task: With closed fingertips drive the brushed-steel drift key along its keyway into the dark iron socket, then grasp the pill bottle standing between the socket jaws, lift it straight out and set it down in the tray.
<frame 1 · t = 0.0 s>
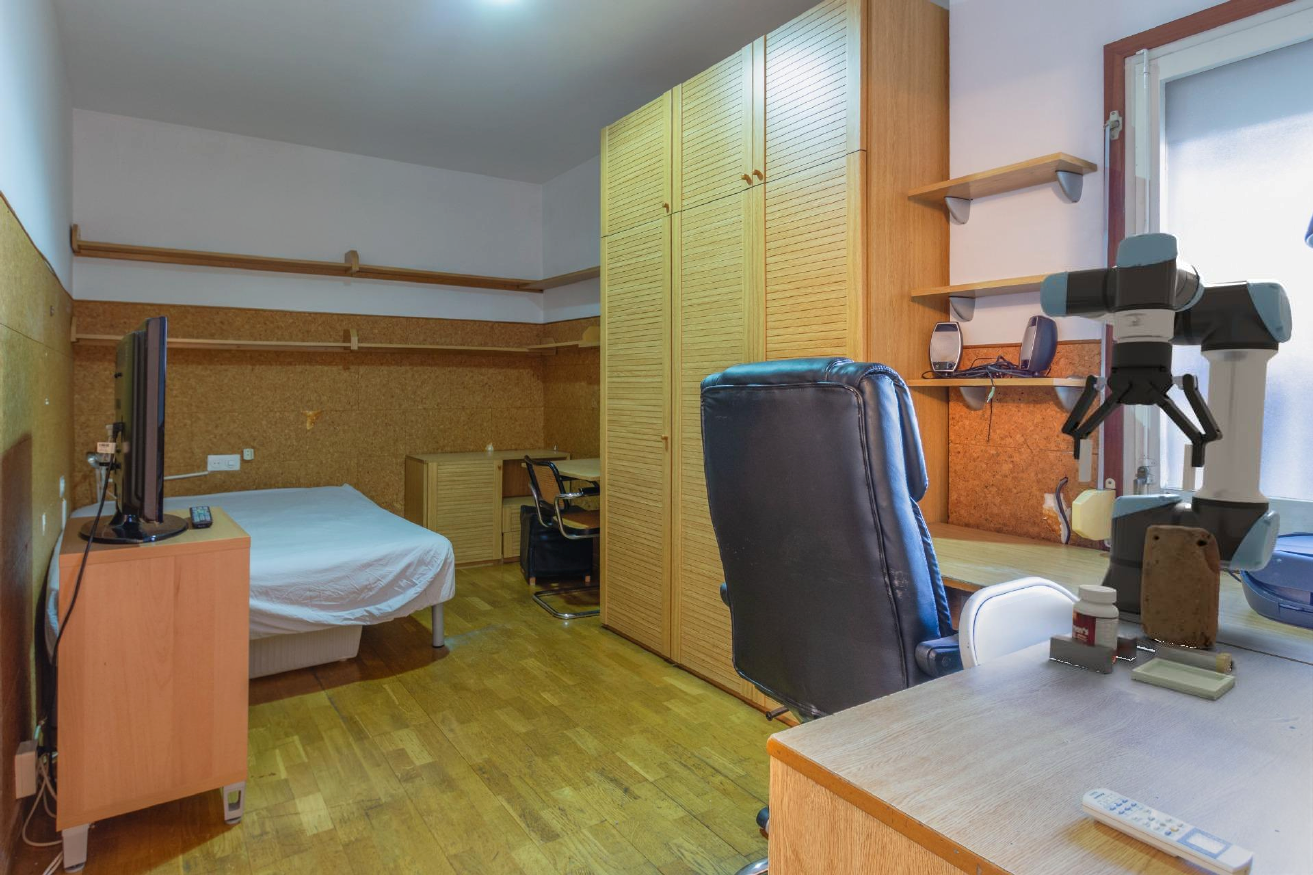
hand: (1133, 486, 111), 28 cm above the table, fingers open, 13 cm apart
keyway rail: (1175, 656, 120), on the table
block: (1177, 643, 129), on the table
tray: (1182, 681, 108), on the table
socket: (1093, 658, 118), on the table
pill bottle: (1093, 660, 118), on the table
drift key: (1191, 657, 116), point 1 cm above the table, slide at 0.0 cm
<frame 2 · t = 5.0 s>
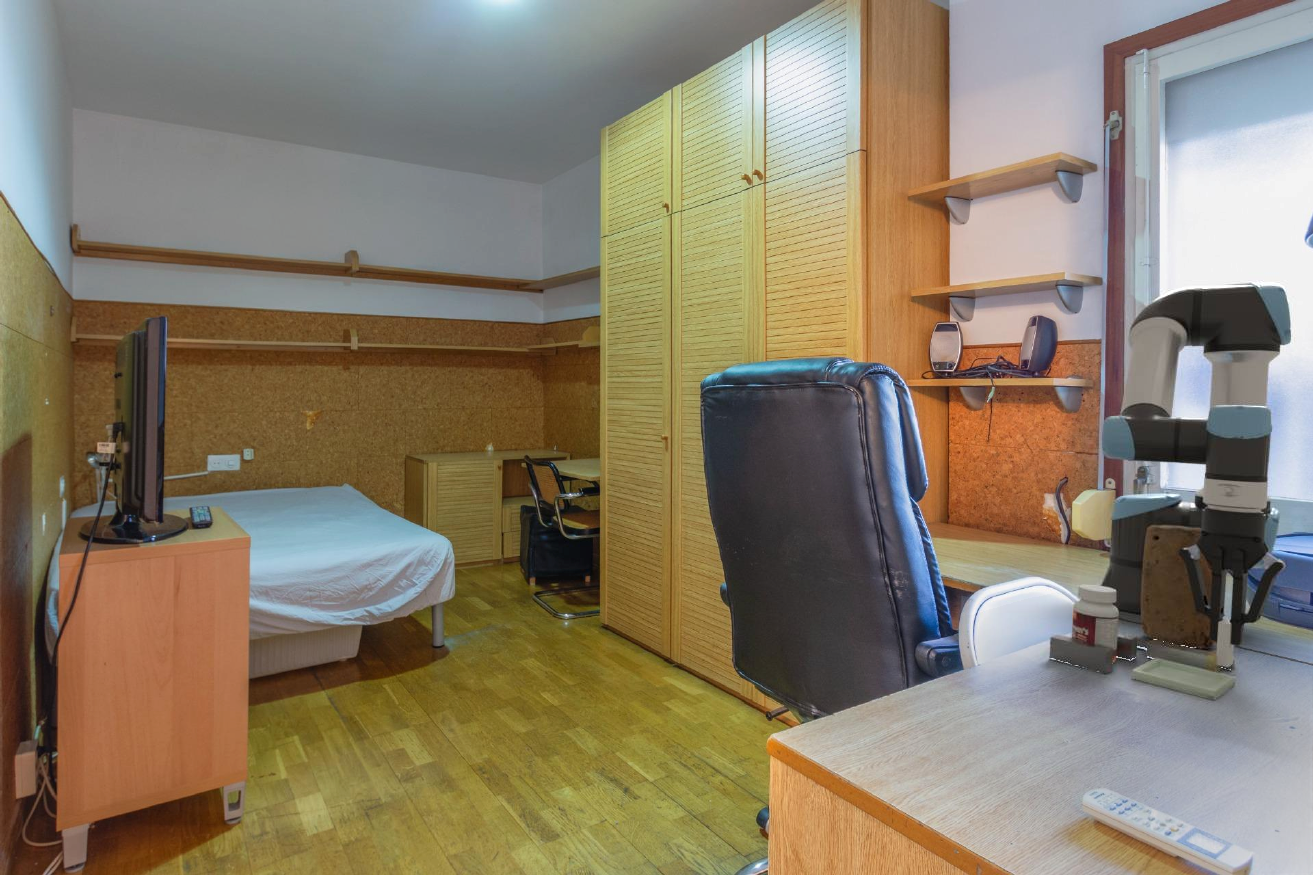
hand: (1224, 663, 113), 1 cm above the table, fingers closed
drift key: (1183, 655, 117), point 1 cm above the table, slide at 1.1 cm, touching gripper
everything else where it was.
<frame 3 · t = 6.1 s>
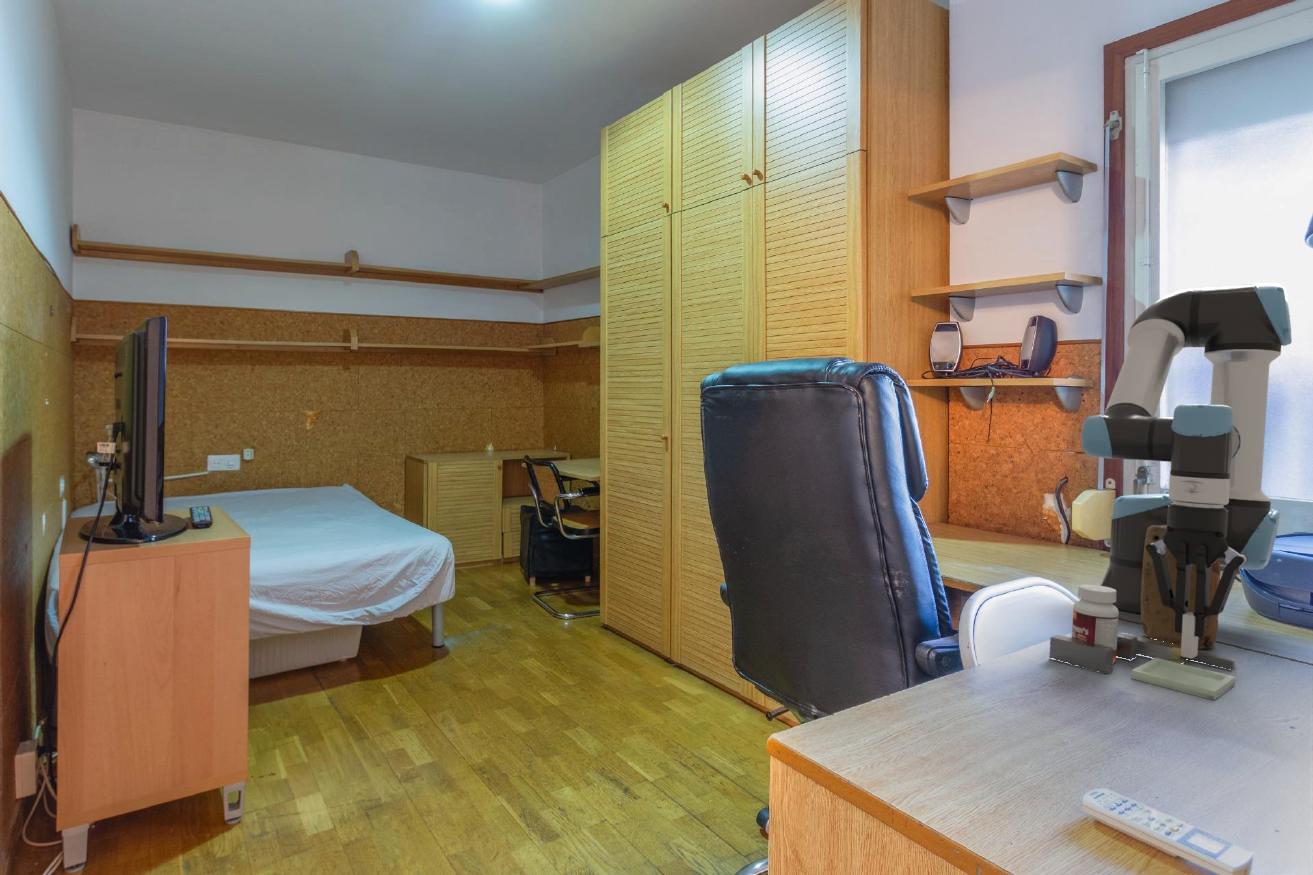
hand: (1188, 655, 116), 2 cm above the table, fingers closed
drift key: (1150, 647, 120), point 1 cm above the table, slide at 5.6 cm, touching gripper
everything else where it was.
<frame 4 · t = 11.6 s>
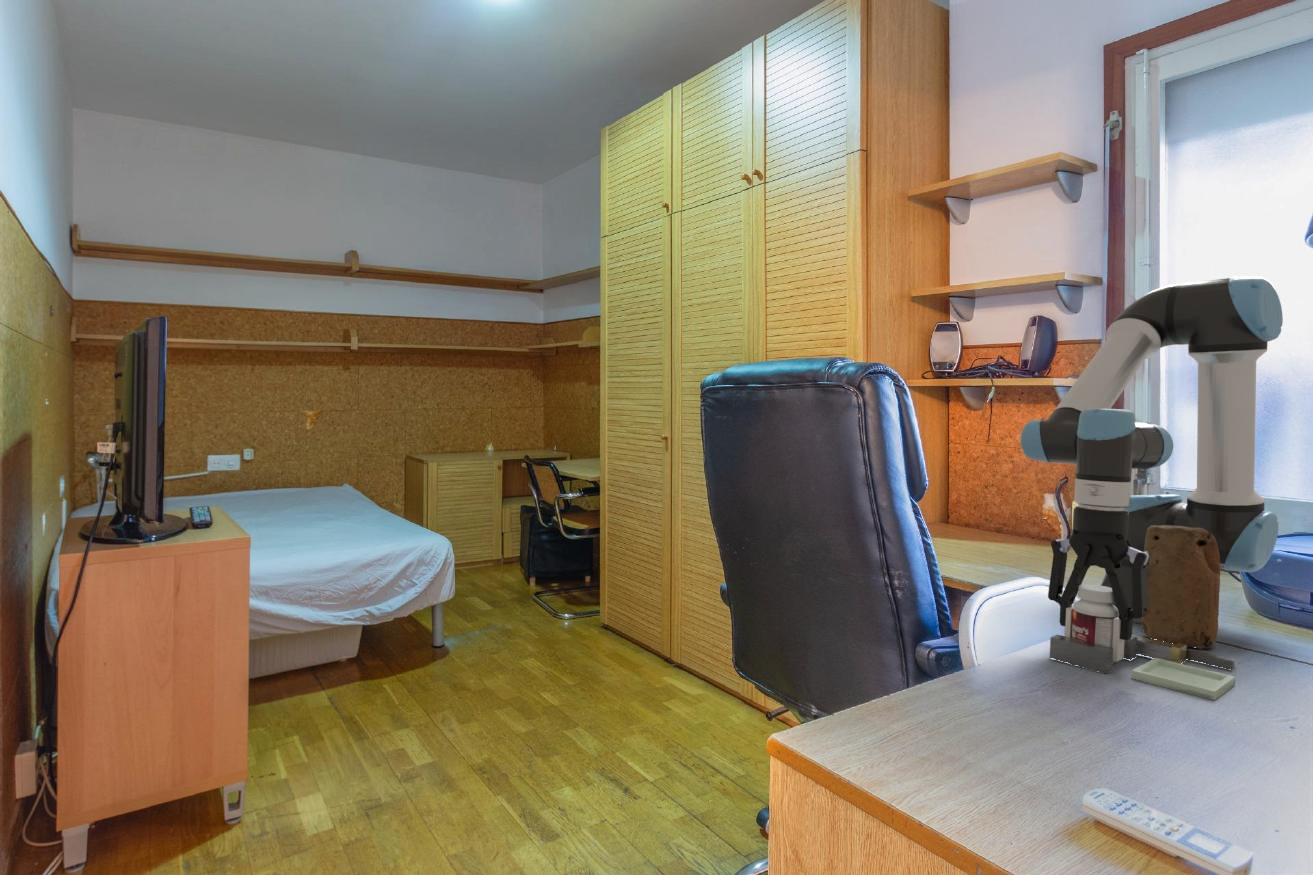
hand: (1093, 652, 118), 1 cm above the table, fingers closed on pill bottle, 6 cm apart
pill bottle: (1093, 660, 118), on the table, touching gripper
drift key: (1149, 647, 120), point 1 cm above the table, slide at 5.7 cm
everything else where it was.
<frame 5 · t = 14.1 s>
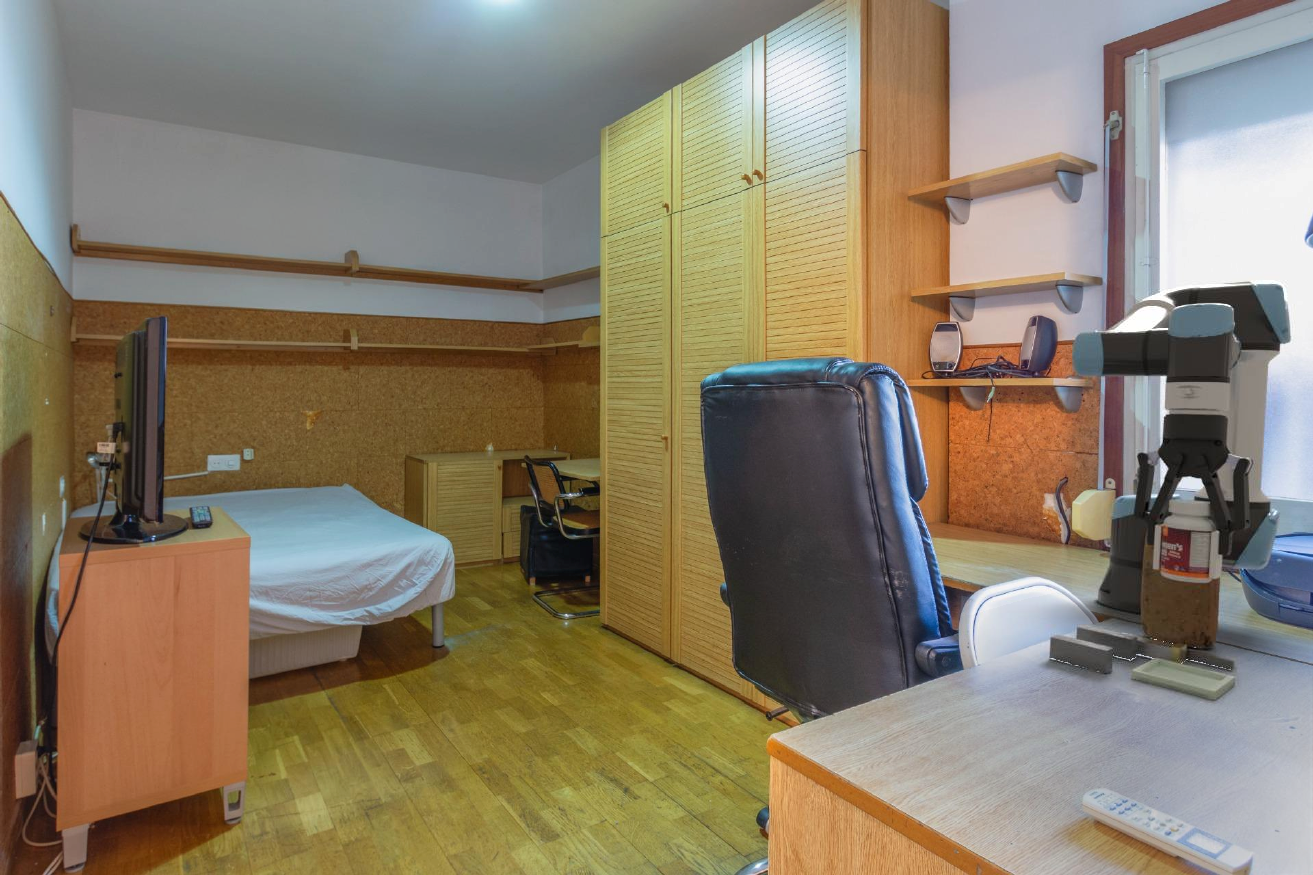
hand: (1186, 572, 108), 16 cm above the table, fingers closed on pill bottle, 6 cm apart
pill bottle: (1185, 580, 108), point 15 cm above the table, touching gripper
everything else where it was.
when the fingers open (3 cm above the table, at t = 16.9 s): pill bottle drops 1 cm, resting on tray.
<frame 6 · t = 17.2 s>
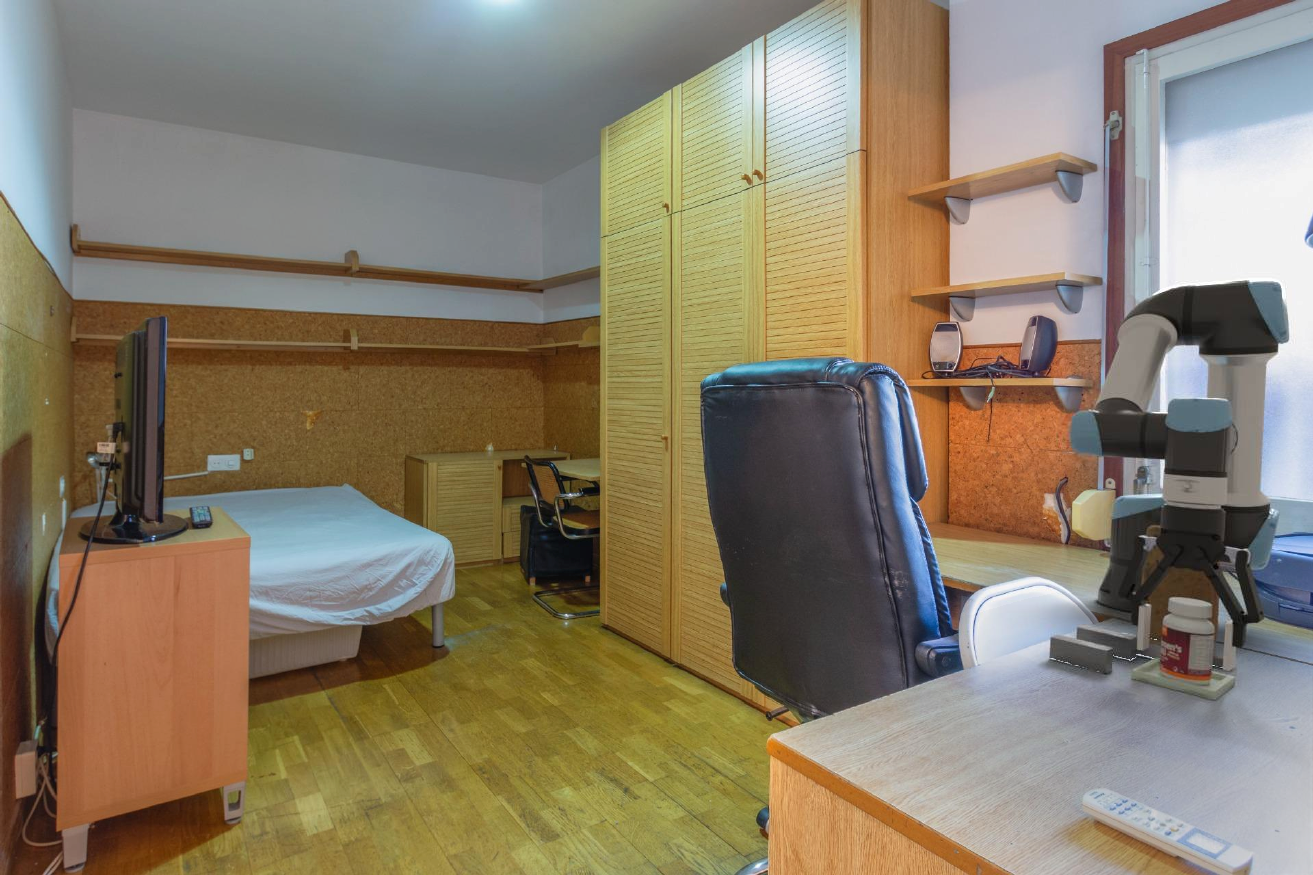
hand: (1184, 657, 108), 3 cm above the table, fingers open, 10 cm apart
pill bottle: (1184, 679, 108), resting on tray
everything else where it was.
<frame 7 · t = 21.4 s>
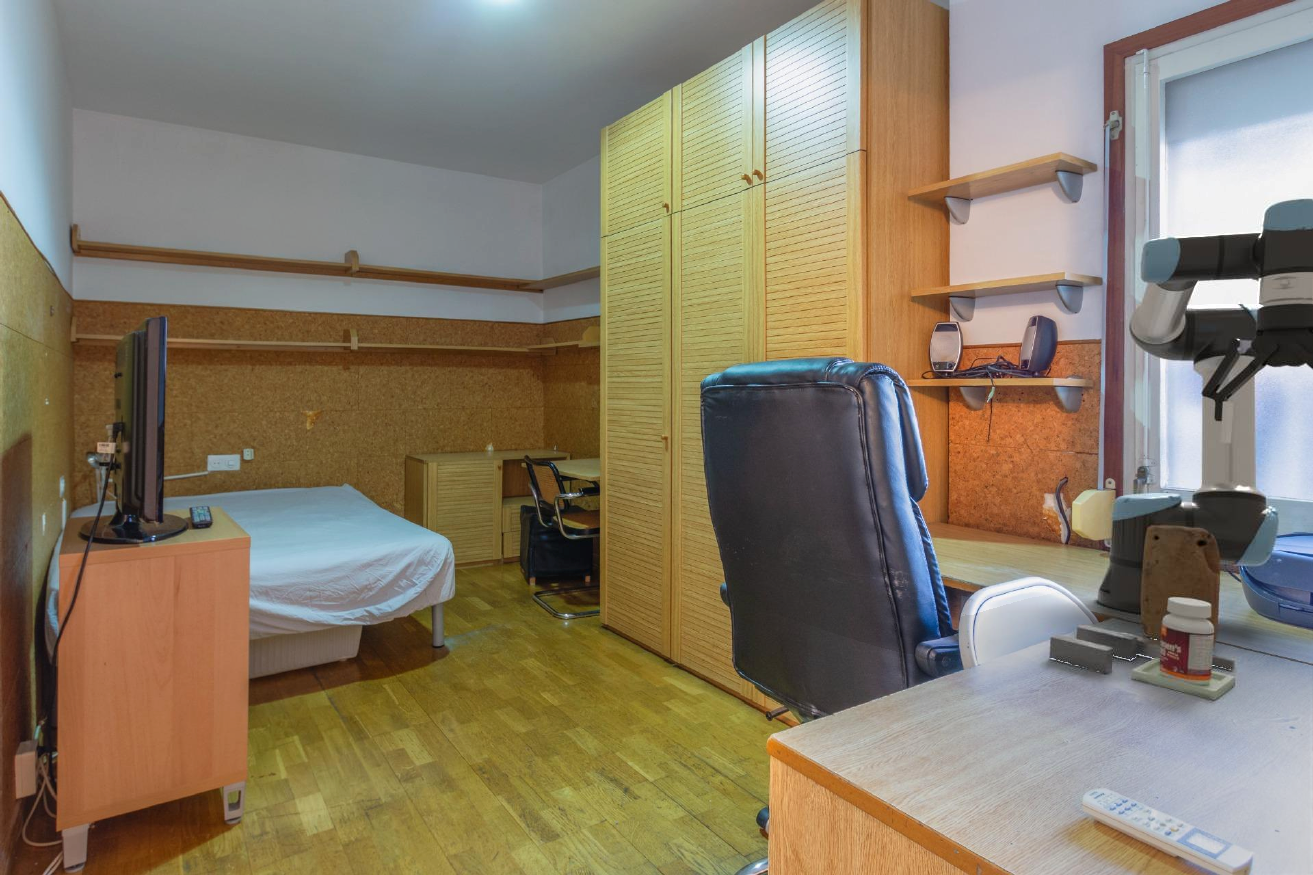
hand: (1280, 445, 114), 35 cm above the table, fingers open, 13 cm apart
nothing on the table moved.
at the end: drift key slide at 5.7 cm; pill bottle inside the target area on the tray (0.2 cm from its centre), point 0.3 cm above the tray's base; pill bottle tilted 0° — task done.
